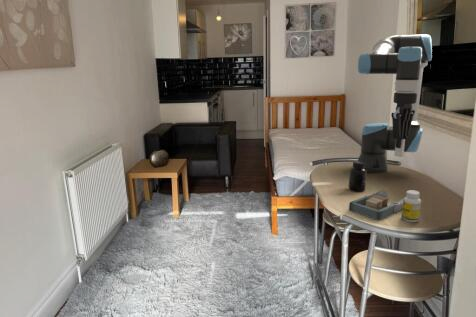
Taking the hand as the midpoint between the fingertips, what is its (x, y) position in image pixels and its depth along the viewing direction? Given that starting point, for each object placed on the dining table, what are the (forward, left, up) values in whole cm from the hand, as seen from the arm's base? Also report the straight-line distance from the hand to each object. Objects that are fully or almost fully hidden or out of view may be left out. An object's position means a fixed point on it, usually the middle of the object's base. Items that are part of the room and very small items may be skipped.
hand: (398, 155), depth 134 cm
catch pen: (+16, 0, -18) cm, 24 cm away
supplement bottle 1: (-1, -17, -18) cm, 25 cm away
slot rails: (+5, 0, -18) cm, 19 cm away
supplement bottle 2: (+12, +12, -18) cm, 25 cm away
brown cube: (+11, 0, -18) cm, 21 cm away
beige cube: (+15, 0, -18) cm, 23 cm away
